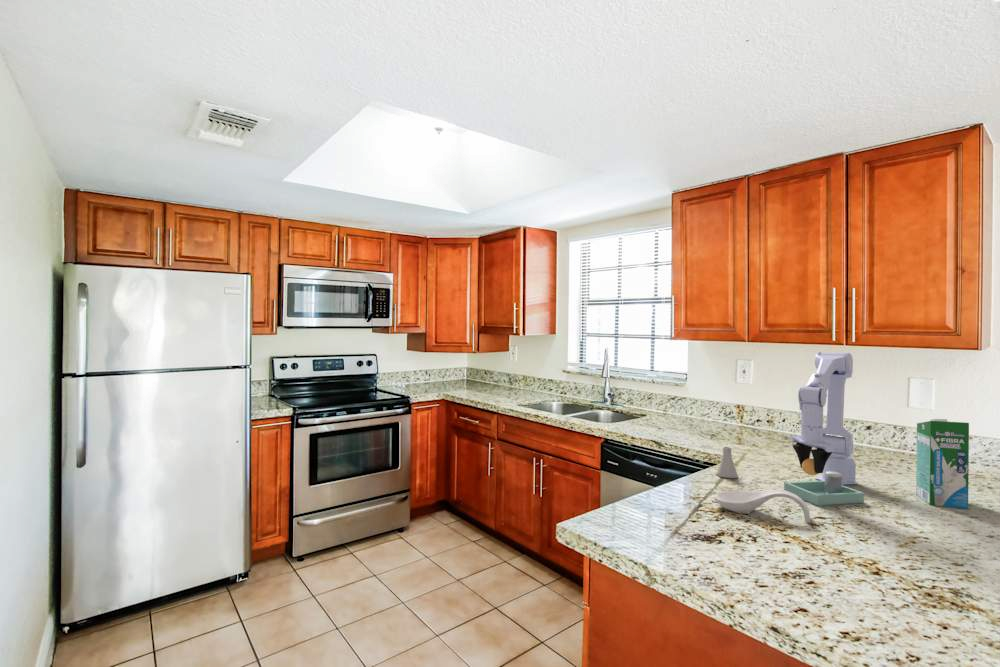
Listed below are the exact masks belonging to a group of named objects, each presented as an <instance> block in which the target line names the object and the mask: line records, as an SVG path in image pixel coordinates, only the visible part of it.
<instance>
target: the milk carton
mask: <svg viewBox="0 0 1000 667" xmlns="http://www.w3.org/2000/svg"><path fill="white" fill-rule="evenodd" d="M969 438H970V422H960V421H948V419H947V418H946V419H945V418H930V420H928V421H923V422H917V423H916V481H915V482H916V485H915V486H916V488H915V489H916V492H915V494H916V497H917V498H919V499H921V500H922V501H924V502H925V503H926V504H928V505H929V506H935V507H947V508H955V509H956V508H957V509H966V510H967V509H969V477H970V476H969V470H970V469H969V465H970V463H969V459H970V457H969V456H970V455H969V454H970V453H969V450H970V448H969V447H970V446H969V445H970V442H969V441H970V439H969Z"/></svg>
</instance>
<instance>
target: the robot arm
mask: <svg viewBox="0 0 1000 667" xmlns="http://www.w3.org/2000/svg"><path fill="white" fill-rule="evenodd" d="M853 364H854V360H853V355H852V354H851V353H850V352H824V351H817V353H816V354H815V359H814V366H815V368H816V372H815V373H812V374H811V375H810V377H809V379H808V380H807V383H806V384H805V385H804V386H802V387H800V388H799V390H798V394H797V396H798V405H799V410H800V414H801V416H800V435H791V436H790V437H791V438H790V440H791V443H795V444H792V448H793V449H794V451H795V453H796V455H797V456H796V457H797V458H798V463H799V465H800V468H801V469H802V463H803V461H804V460H806V459H810V456H811V455H812V459H814V470H815V473H819V474H821V476H815V477H814V478H815V479H816V480H817V481H822V480H825V474H826V471H834V472H838V473H841V477H842V485H843V486H846V485H858V482H857V481H856V471H857V470H856V466H857V465H856V462H855V459H854V458H853V457H852V456H853V453H854V442H853V434H852V433H851V432H850V431H849V430H847V428H846V427H844V411H845V410H844V409H845V408H844V407H845V388H846V387H845V386H846V382H847V381H846V380H847V379H849V378H852V375H853V370H854V369H853V366H854V365H853ZM826 402H827V404H826ZM824 406H827V410H826V425H825V426H824ZM813 448H815V449H813Z"/></svg>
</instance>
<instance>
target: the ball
mask: <svg viewBox="0 0 1000 667" xmlns="http://www.w3.org/2000/svg"><path fill="white" fill-rule="evenodd" d="M801 469H802V471H803V472H804V473H805V474H807V475H808V476H816V475H819V474H820V473H815V470H814V459H813V458H809V459H806V460H804V461H803V463H802V468H801Z"/></svg>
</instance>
